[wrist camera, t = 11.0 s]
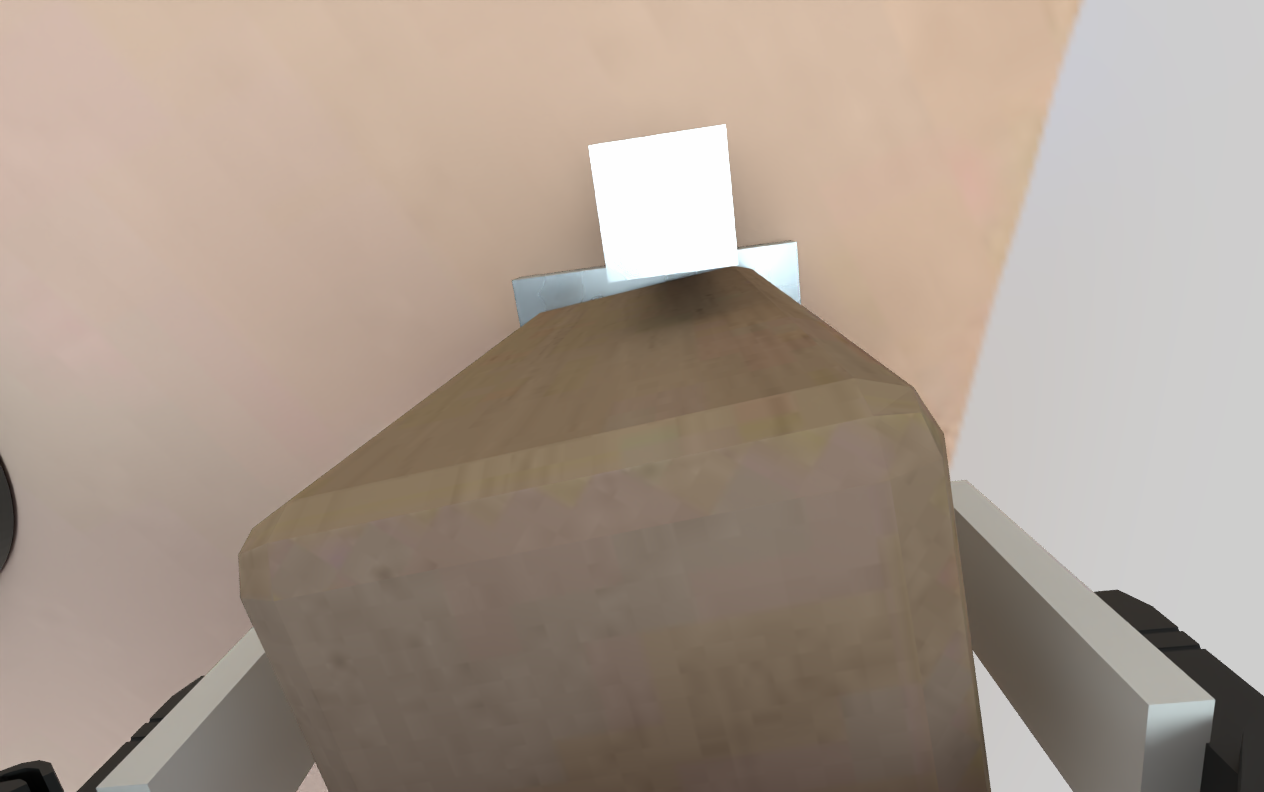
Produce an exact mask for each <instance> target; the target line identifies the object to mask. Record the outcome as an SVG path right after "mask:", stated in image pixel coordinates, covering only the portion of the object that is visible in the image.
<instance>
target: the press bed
mask: <svg viewBox="0 0 1264 792" xmlns="http://www.w3.org/2000/svg"><path fill="white" fill-rule="evenodd" d="M589 153H590V160H591V167H592V174H593V181H594V187H595V194H596V201H597V208H598V215H599V222H600V229H601V236H602V242H603V249H604V256H605V263H606V266H598V267H591V268H584V269H576V270H569V271H562V272H554V273H547V274H539V275H532V276H525V277H519V278H517V279H514V280H512V283H513V289H514V294H515V300H516V305H517V311H518V316H519V321H520V327H522V326H523V325H524V324H526V323H527V322H528V321H530V320H531V319H532V318H534V317H535V316H536V315H538V314H539V313H541V312H545V311H550V310H554V309H558V308H562V307H566V306H570V305H574V304H578V303H582V302H586V301H590V300H594V299H599V298H603V297H607V296H611V295H615V294H619V293H623V292H627V291H631V290H635V289H639V288H644V287H648V286H652V285H656V284H660V283H664V282H668V281H672V280H676V279H680V278H684V277H688V276H693V275H697V274H701V273H705V272H709V271H713V270H717V269H721V268H725V267H729V266H738V267H744V268H750V269H753V270H754V271H756V272H757V273H758V274H760V275H761V276H762V277H764V278H765V279H766V280H768V281H769V282H771V283H772V284H773V285H775V286H776V287H777V288H779V289H780V290H781V291H783V292H784V293H786V294H787V295H788V296H790V297H791V298H792V299H794V300H795V301H796V302H798V303H799V304H801V299H800V284H799V270H798V255H797V242H795V241H791V240H790V241H783V242H775V243H768V244H760V245H753V246H746V247H738V248H737V244H736V233H735V222H734V211H733V200H732V190H731V179H730V168H729V157H728V146H727V135H726V124H725V125H718V126H712V127H705V128H699V129H693V130H686V131H680V132H673V133H667V134H660V135H654V136H647V137H641V138H634V139H628V140H621V141H615V142H608V143H602V144H595V145H589Z"/></svg>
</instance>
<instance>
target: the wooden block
mask: <svg viewBox="0 0 1264 792" xmlns="http://www.w3.org/2000/svg"><path fill="white" fill-rule="evenodd" d="M238 559H239V581H240V598H241V601H242V603H243V605H244V607H245V609H246V612H247V614H248V616H249V618H250V620H251V623H252V625H253V627H254V629H255V631H256V633H257V636H258V638H259V640H260V642H261V644H262V647H263V649H264V651H265V653H266V655H267V657H268V660H269V662H270V664H271V666H272V668H273V671H274V673H275V675H276V677H277V679H278V681H279V684H280V686H281V688H282V690H283V692H284V695H285V697H286V699H287V701H288V703H289V705H290V708H291V710H292V712H293V714H294V716H295V719H296V721H297V723H298V725H299V727H300V729H301V732H302V734H303V736H304V738H305V740H306V743H307V745H308V747H309V749H310V751H311V754H312V756H313V758H314V760H315V762H316V764H317V767H318V769H319V771H320V773H321V775H322V778H323V780H324V782H325V784H326V786H327V788H328V791H329V792H991V788H990V780H989V773H988V765H987V757H986V750H985V742H984V734H983V727H982V719H981V712H980V705H979V696H978V689H977V681H976V673H975V666H974V658H973V651H972V643H971V635H970V628H969V620H968V613H967V605H966V597H965V590H964V582H963V575H962V567H961V559H960V552H959V544H958V537H957V529H956V521H955V514H954V506H953V499H952V491H951V483H950V476H949V468H948V460H947V453H946V445H945V438H944V433H943V432H942V430H941V429H940V427H939V425H938V424H937V422H936V421H935V419H934V418H933V416H932V415H931V413H930V412H929V410H928V409H927V407H926V406H925V404H924V403H923V401H922V399H921V398H920V396H919V395H918V393H917V392H916V390H915V389H914V387H912V386H911V385H910V384H908V383H907V382H905V381H904V380H903V379H901V378H900V377H899V376H897V375H896V374H895V373H893V372H892V371H891V370H889V369H888V368H886V367H885V366H884V365H882V364H881V363H880V362H878V361H877V360H876V359H874V358H873V357H871V356H870V355H869V354H867V353H866V352H865V351H863V350H862V349H861V348H859V347H858V346H856V345H855V344H854V343H852V342H851V341H850V340H848V339H847V338H846V337H844V336H843V335H841V334H840V333H839V332H837V331H836V330H835V329H833V328H832V327H831V326H829V325H828V324H826V323H825V322H824V321H822V320H821V319H820V318H818V317H817V316H816V315H814V314H813V313H811V312H810V311H809V310H807V309H806V308H805V307H803V306H802V305H801V304H799V303H798V302H796V301H795V300H794V299H792V298H791V297H790V296H788V295H787V294H786V293H784V292H783V291H781V290H780V289H779V288H777V287H776V286H775V285H773V284H772V283H771V282H769V281H768V280H766V279H765V278H764V277H762V276H761V275H760V274H758V273H757V272H756V271H754V270H753V269H750V268H744V267H738V266H729V267H725V268H721V269H717V270H713V271H709V272H705V273H701V274H697V275H693V276H688V277H684V278H680V279H676V280H672V281H668V282H664V283H660V284H656V285H652V286H648V287H644V288H639V289H635V290H631V291H627V292H623V293H619V294H615V295H611V296H607V297H603V298H599V299H594V300H590V301H586V302H582V303H578V304H574V305H570V306H566V307H562V308H558V309H554V310H550V311H545V312H541V313H539V314H538V315H536V316H535V317H534V318H532V319H531V320H530V321H528V322H527V323H526V324H524V325H523V326H522V327H520V328H519V329H518V330H516V331H515V332H514V333H512V334H511V335H510V336H508V337H507V338H506V339H504V340H503V341H502V342H500V343H499V344H498V345H496V346H495V347H494V348H492V349H491V350H490V351H488V352H487V353H486V354H484V355H483V356H482V357H480V358H479V359H478V360H476V361H475V362H474V363H472V364H471V365H470V366H468V367H467V368H466V369H464V370H463V371H462V372H460V373H459V374H458V375H456V376H455V377H454V378H452V379H451V380H450V381H448V382H447V383H446V384H444V385H443V386H442V387H440V388H439V389H438V390H436V391H435V392H434V393H432V394H431V395H430V396H428V397H427V398H426V399H424V400H423V401H422V402H420V403H419V404H418V405H416V406H415V407H414V408H412V409H411V410H410V411H408V412H407V413H405V414H404V415H403V416H401V417H400V418H399V419H397V420H396V421H395V422H393V423H392V424H391V425H389V426H388V427H387V428H385V429H384V430H383V431H381V432H380V433H379V434H377V435H376V436H375V437H373V438H372V439H371V440H369V441H368V442H367V443H365V444H364V445H363V446H361V447H360V448H359V449H357V450H356V451H355V452H353V453H352V454H351V455H349V456H348V457H347V458H345V459H344V460H343V461H341V462H340V463H339V464H337V465H336V466H335V467H333V468H332V469H331V470H329V471H328V472H327V473H325V474H324V475H323V476H321V477H320V478H319V479H317V480H316V481H315V482H313V483H312V484H311V485H309V486H308V487H307V488H305V489H304V490H303V491H301V492H300V493H299V494H297V495H296V496H295V497H293V498H292V499H291V500H289V501H288V502H287V503H285V504H284V505H283V506H281V507H280V508H279V509H278V510H276V511H275V512H274V513H272V514H271V515H270V516H268V517H267V518H266V519H264V520H263V521H262V522H260V523H259V524H258V525H256V526H255V527H254V528H253V529H252V530H251V532H250V534H249V536H248V538H247V540H246V541H245V543H244V545H243V547H242V549H241V551H240V553H239V554H238Z"/></svg>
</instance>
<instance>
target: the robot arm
mask: <svg viewBox="0 0 1264 792" xmlns="http://www.w3.org/2000/svg"><path fill="white" fill-rule="evenodd" d="M950 483H951V491H952V499H953V506H954V514H955V521H956V529H957V537H958V544H959V552H960V559H961V567H962V575H963V582H964V590H965V597H966V605H967V613H968V620H969V628H970V635H971V643H972V650H973V651H974V652H975V654H976V655H977V657H978V658H979V659H980V661H981V662H982V664H983V665H984V667H985V668H986V669H987V671H988V672H989V674H990V675H991V676H992V678H993V679H994V681H995V682H996V683H997V685H998V686H999V688H1000V689H1001V690H1002V692H1003V693H1004V695H1005V696H1006V698H1007V699H1008V700H1009V702H1010V703H1011V705H1012V706H1013V707H1014V709H1015V710H1016V712H1017V713H1018V714H1019V716H1020V717H1021V719H1022V720H1023V721H1024V723H1025V724H1026V726H1027V727H1028V729H1029V730H1030V731H1031V733H1032V734H1033V735H1034V737H1035V738H1036V740H1037V741H1038V743H1039V744H1040V745H1041V747H1042V748H1043V750H1044V751H1045V752H1046V754H1047V755H1048V757H1049V758H1050V760H1051V761H1052V762H1053V764H1054V765H1055V767H1056V768H1057V769H1058V771H1059V772H1060V774H1061V775H1062V776H1063V778H1064V779H1065V781H1066V782H1067V783H1068V785H1069V786H1070V788H1071V789H1072V791H1073V792H1264V696H1263V695H1261V694H1260V693H1259V692H1258V691H1257V690H1255V689H1254V688H1253V687H1251V686H1250V685H1249V684H1248V683H1247V682H1245V681H1244V680H1243V679H1242V678H1240V677H1239V676H1238V675H1237V674H1235V673H1234V672H1233V671H1232V670H1231V669H1229V668H1228V667H1227V666H1226V665H1224V664H1223V663H1222V662H1220V661H1219V660H1218V659H1217V658H1216V657H1214V656H1213V655H1212V654H1210V653H1209V652H1208V651H1207V650H1206V649H1201V648H1200V645H1199V644H1198V643H1197V642H1196V641H1195V640H1193V639H1192V638H1191V637H1190V636H1188V635H1187V634H1186V633H1185V632H1183V631H1179V630H1178V627H1177V626H1176V625H1175V624H1173V623H1172V622H1171V621H1170V620H1169V619H1167V618H1166V617H1164V615H1162V614H1161V613H1160V612H1159V611H1157V610H1156V609H1155V608H1154V607H1152V606H1151V605H1148V604H1146V603H1144V602H1142V601H1140V600H1138V599H1136V598H1134V597H1132V596H1130V595H1128V594H1125V593H1123V592H1121V591H1119V590H1110V591H1098V592H1093V591H1092V590H1090V589H1089V588H1088V587H1087V586H1086V585H1085V584H1084V583H1083V582H1081V581H1080V580H1079V579H1078V578H1077V577H1076V576H1074V575H1073V574H1072V573H1071V572H1070V571H1069V570H1068V569H1067V568H1066V567H1064V566H1063V565H1062V564H1061V563H1060V562H1059V561H1057V560H1056V559H1055V558H1054V557H1053V556H1052V555H1051V554H1050V553H1048V552H1047V551H1046V550H1045V549H1044V548H1043V547H1042V546H1041V545H1039V544H1038V543H1037V542H1036V541H1035V540H1034V539H1033V538H1032V537H1030V536H1029V535H1028V534H1027V533H1026V532H1025V531H1024V530H1023V529H1021V528H1020V527H1019V526H1018V525H1017V524H1016V523H1015V522H1013V521H1012V520H1011V519H1010V518H1009V517H1008V516H1007V515H1006V514H1004V513H1003V512H1002V511H1001V510H1000V509H999V508H998V507H996V506H995V505H994V504H993V503H992V502H991V501H989V500H988V499H987V498H986V497H985V496H984V495H983V494H982V493H981V492H979V491H978V490H977V489H976V488H975V487H974V486H973V485H972V484H970V483H969V482H968V481H967V480H961V481H952V482H950ZM13 528H14V515H13V505H12V499H11V494H10V490H9V486H8V483H7V480H6V477H5V474H4V472H3V469H2V467H1V465H0V570H1V568H2V567H3V565H4V563H5V561H6V559H7V556H8V553H9V550H10V547H11V543H12V537H13ZM314 762H315V760H314V758H313V756H312V754H311V751H310V749H309V747H308V745H307V743H306V740H305V738H304V736H303V734H302V732H301V729H300V727H299V725H298V723H297V721H296V719H295V716H294V714H293V712H292V710H291V708H290V705H289V703H288V701H287V699H286V697H285V695H284V692H283V690H282V688H281V686H280V684H279V681H278V679H277V677H276V675H275V673H274V671H273V668H272V666H271V664H270V662H269V660H268V657H267V655H266V653H265V651H264V649H263V647H262V644H261V642H260V640H259V638H258V636H257V633H256V631H255V629H254V627H252V628H251V629H250V630H249V631H248V632H247V633H246V634H245V635H244V636H243V637H242V638H241V640H240V641H239V642H238V643H237V644H236V645H235V646H234V647H233V648H232V649H231V650H230V651H229V652H228V653H227V654H226V655H225V656H224V657H223V658H222V659H221V660H220V661H219V662H218V663H217V664H216V665H215V666H214V667H213V668H212V669H211V670H210V671H209V672H208V673H207V674H206V675H205V676H201V677H200V678H198V679H197V680H195V681H194V682H192V683H191V684H189V685H188V686H186V687H185V688H184V689H182V690H181V691H179V692H178V693H176V694H175V695H173V696H172V697H171V698H170V699H169V700H168V701H167V702H166V703H165V704H164V705H163V706H162V707H161V708H160V709H159V710H158V711H157V712H156V713H155V714H154V715H153V716H152V717H151V718H150V721H149V723H145V724H144V725H143V726H142V727H141V728H140V729H139V730H138V731H137V732H136V733H135V734H134V735H133V736H132V737H131V741H130V742H126V743H125V744H124V745H123V746H122V747H121V748H120V749H119V750H118V751H117V752H116V753H115V754H114V755H113V756H112V757H111V758H110V759H109V760H108V761H107V762H106V763H105V764H104V765H103V766H102V767H101V768H100V769H99V770H98V771H97V772H96V773H95V774H94V775H93V776H92V777H91V778H90V779H89V780H88V781H87V782H86V783H85V784H84V785H83V786H82V787H81V788H80V789H79V790H78V791H77V792H296V791H297V790H298V788H299V786H300V785H301V783H302V782H303V780H304V778H305V777H306V775H307V774H308V772H309V770H310V769H311V767H312V766H313V764H314ZM0 792H64V790H63V788H62V786H61V784H60V782H59V779H58V777H57V775H56V773H55V771H54V769H53V767H52V765H51V763H49V762H45V761H40V760H38V761H32V762H26V763H21V764H18V765H15V766H13V767H10V768H7V769H5V770H2V771H0Z"/></svg>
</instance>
